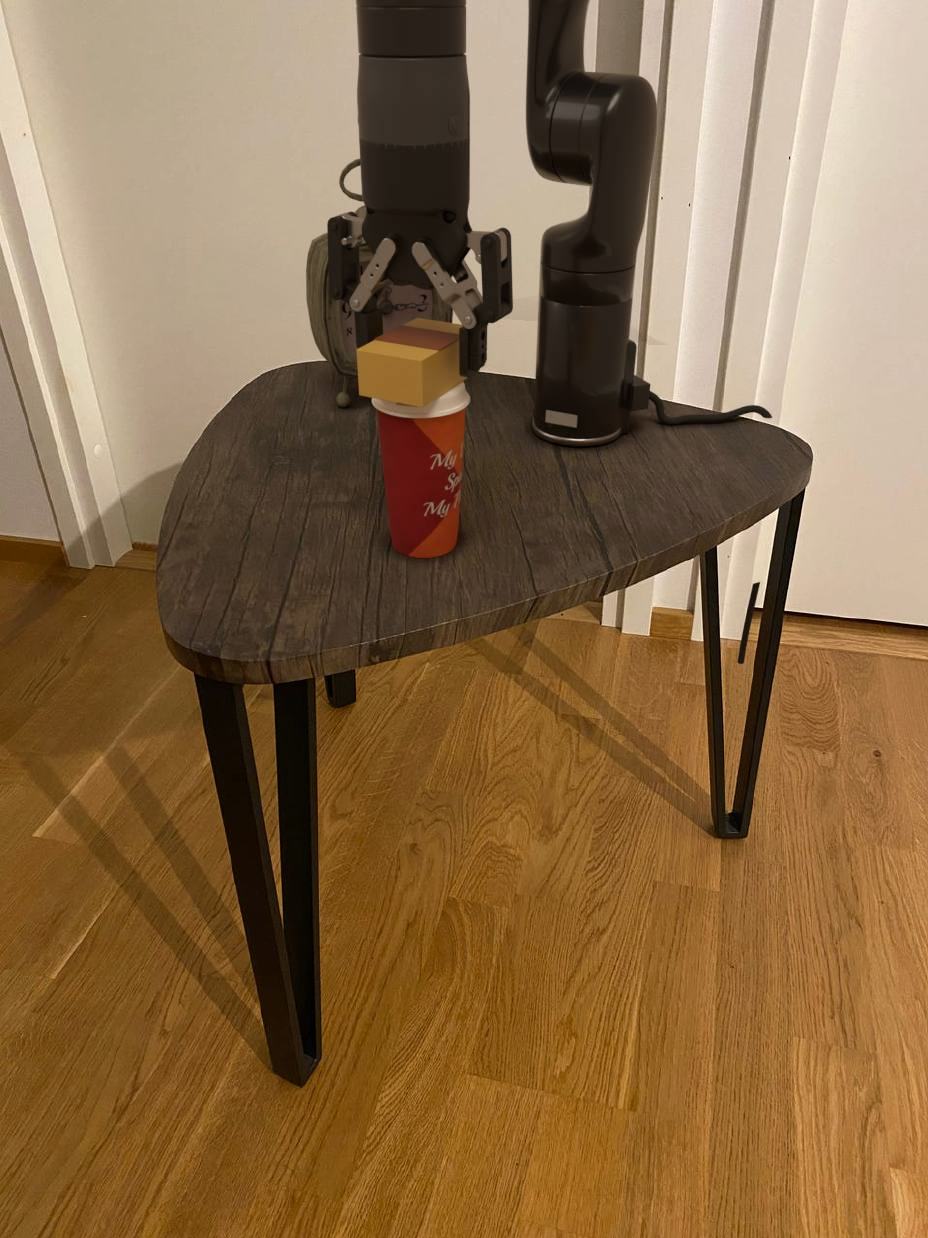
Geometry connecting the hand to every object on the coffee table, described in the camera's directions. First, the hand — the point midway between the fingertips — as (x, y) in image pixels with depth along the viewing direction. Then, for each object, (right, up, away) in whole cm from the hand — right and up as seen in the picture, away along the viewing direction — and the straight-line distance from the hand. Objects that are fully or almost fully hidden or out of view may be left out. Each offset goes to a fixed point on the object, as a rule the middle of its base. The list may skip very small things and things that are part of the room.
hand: (420, 365), depth 75 cm
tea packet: (0, -1, +1) cm, 1 cm away
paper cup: (0, -13, +9) cm, 15 cm away
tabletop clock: (-6, +7, +38) cm, 39 cm away
